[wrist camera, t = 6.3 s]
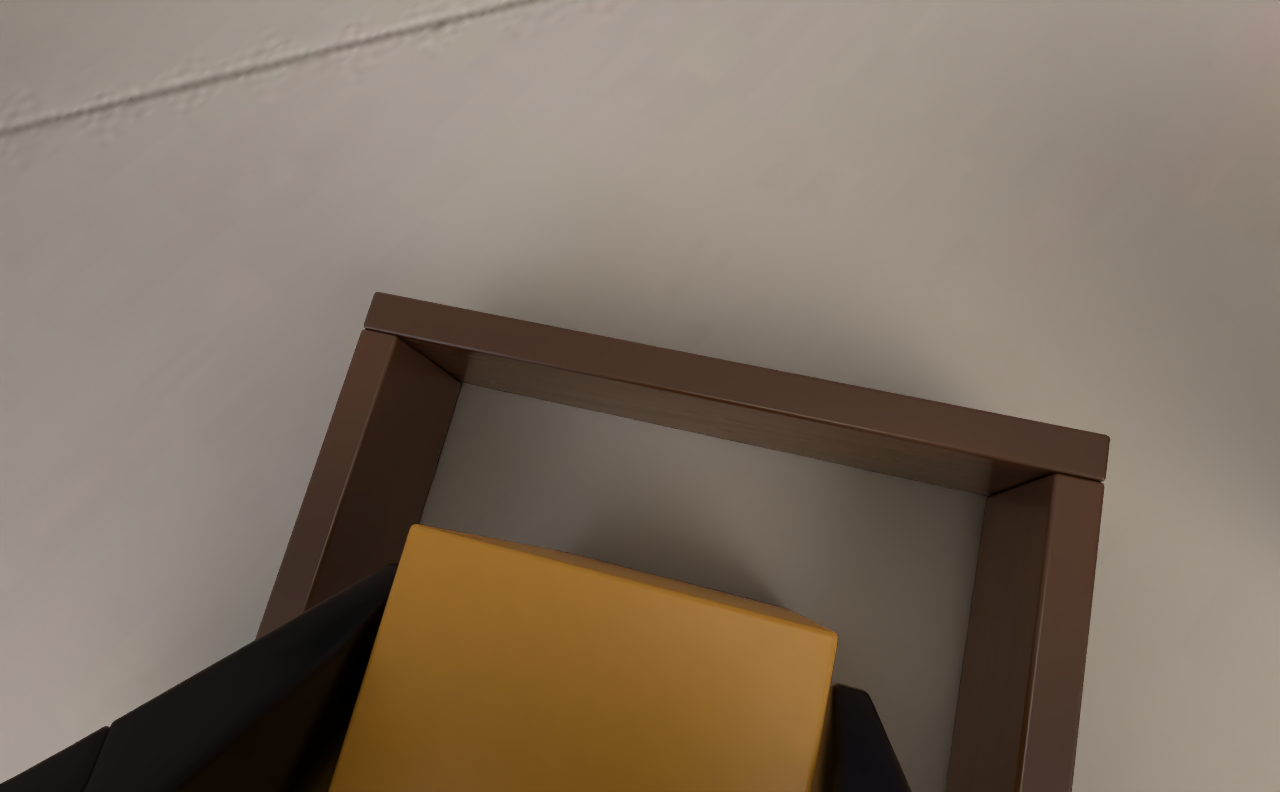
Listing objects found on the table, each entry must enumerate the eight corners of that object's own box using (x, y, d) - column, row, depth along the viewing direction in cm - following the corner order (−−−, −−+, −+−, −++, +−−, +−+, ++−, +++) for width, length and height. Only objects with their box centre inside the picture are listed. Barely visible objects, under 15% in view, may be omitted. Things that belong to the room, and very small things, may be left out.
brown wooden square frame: (939, 1167, 13) (1012, 1375, 9) (263, 909, 15) (128, 1001, 12) (1031, 467, 15) (1111, 434, 12) (442, 345, 18) (374, 290, 15)
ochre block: (744, 839, 14) (751, 1130, 7) (508, 765, 15) (277, 946, 8) (789, 609, 15) (839, 633, 8) (564, 551, 16) (410, 522, 9)
